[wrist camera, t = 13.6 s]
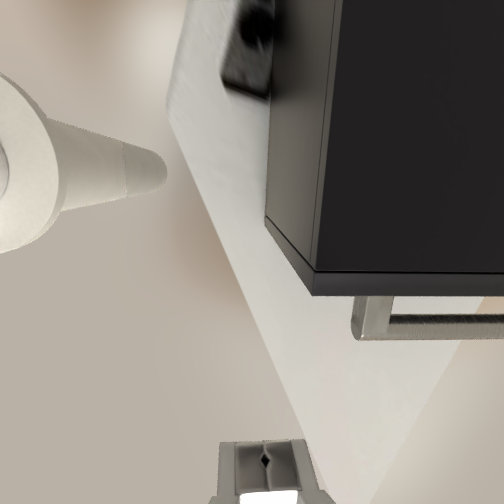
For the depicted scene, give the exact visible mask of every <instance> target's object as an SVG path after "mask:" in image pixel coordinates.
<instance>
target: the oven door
mask: <svg viewBox="0 0 504 504" xmlns="http://www.w3.org/2000/svg"><path fill="white" fill-rule="evenodd" d="M265 227H266V228H267V230H268V231H269V233H270V234H271V236H272V237H273V239H274V240H275V242H276V243H277V245H278V246H279V248H280V249H281V250H282V252H283V253H284V255H285V256H286V258H287V259H288V261H289V262H290V264H291V265H292V267H293V268H294V270H295V271H296V273H297V274H298V276H299V277H300V279H301V280H302V282H303V283H304V285H305V286H306V288H307V289H308V291H309V292H310V294H311V295H312V296H355V298H354V305H353V311H352V318H351V331H352V334H353V336H354V338H355V339H356V340H358V341H369V340H458V339H504V314H391V309H392V304H393V299H394V296H504V272H421V271H316V270H315V269H314V268H313V267H312V266H311V265H310V264H309V262H308V261H307V260H306V259H305V258H304V257H303V256H302V254H301V253H300V252H299V251H298V250H297V249H296V248H295V247H294V245H293V244H292V243H291V242H290V241H289V240H288V239H287V238H286V236H285V235H284V234H283V233H282V232H281V231H280V230H279V228H278V227H277V226H276V225H275V224H274V223H273V222H272V221H271V219H270V218H269V217H268V216H267V215H266V216H265Z"/></svg>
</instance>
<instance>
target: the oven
mask: <svg viewBox="0 0 504 504" xmlns="http://www.w3.org/2000/svg"><path fill="white" fill-rule="evenodd" d="M265 214H266V215H267V216H268V217H269V218H270V219H271V221H272V222H273V223H274V224H275V225H276V226H277V227H278V228H279V230H280V231H281V232H282V233H283V234H284V235H285V236H286V238H287V239H288V240H289V241H290V242H291V243H292V244H293V245H294V247H295V248H296V249H297V250H298V251H299V252H300V253H301V254H302V256H303V257H304V258H305V259H306V260H307V261H308V262H309V264H310V265H311V266H312V267H313V268H314V269H315V270H316V271H421V272H504V0H275V15H274V36H273V57H272V78H271V99H270V120H269V141H268V163H267V184H266V205H265Z"/></svg>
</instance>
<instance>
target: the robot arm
mask: <svg viewBox="0 0 504 504" xmlns="http://www.w3.org/2000/svg"><path fill="white" fill-rule="evenodd" d="M8 177H9V170H8V163H7V159H6V155H5V153H4V150H3V148H2V146H1V144H0V198H1V197H2V196H3V194H4V192H5V190H6V187H7V184H8ZM208 504H336V503H335V502H334V501H333V499H332V498H331V497H330V496H329V495H328V494H327V493H326V492H325V491H324V490H319V486H318V483H317V479H316V476H315V472H314V469H313V465H312V462H311V458H310V454H309V451H308V447H307V444H306V441H305V440H304V439H292V440H289V439H284V440H268V441H267V440H266V441H261V442H260V441H258V442H235V445H234V442H220V446H219V464H218V486H217V496H213V497H212V498H211V500H210V502H209V503H208Z"/></svg>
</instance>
